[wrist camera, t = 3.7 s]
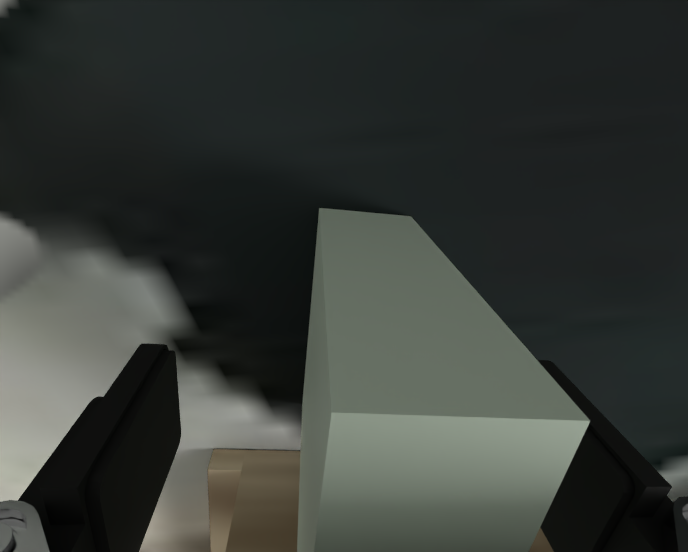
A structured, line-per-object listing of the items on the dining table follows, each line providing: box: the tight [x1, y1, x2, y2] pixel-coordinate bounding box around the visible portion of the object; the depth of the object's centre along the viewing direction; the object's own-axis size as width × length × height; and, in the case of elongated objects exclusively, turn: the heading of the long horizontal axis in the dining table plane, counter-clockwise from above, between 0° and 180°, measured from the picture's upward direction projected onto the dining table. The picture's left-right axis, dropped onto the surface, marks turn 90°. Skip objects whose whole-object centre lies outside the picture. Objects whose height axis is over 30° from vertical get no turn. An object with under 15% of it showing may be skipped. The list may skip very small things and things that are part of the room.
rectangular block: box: [297, 208, 590, 552], centre depth 10 cm, size 8×3×9 cm, turn 174°
